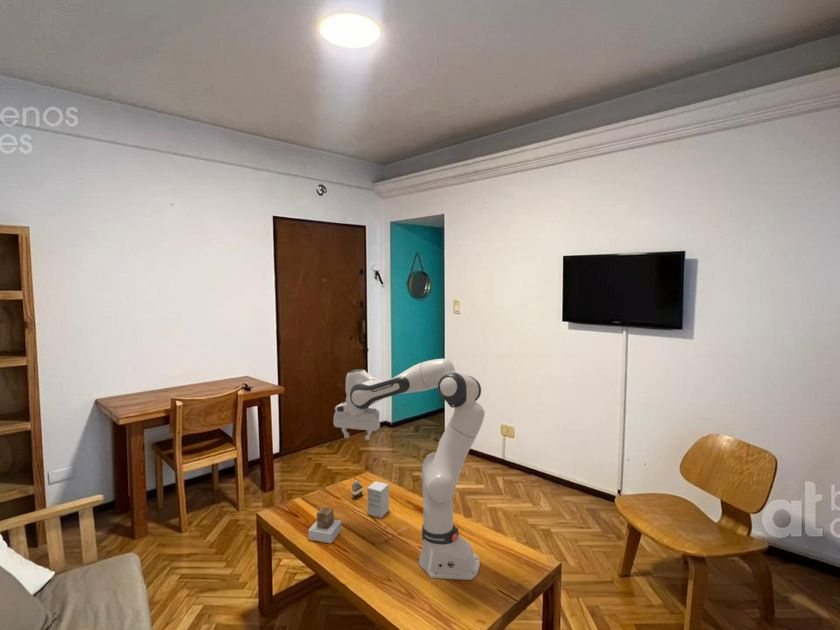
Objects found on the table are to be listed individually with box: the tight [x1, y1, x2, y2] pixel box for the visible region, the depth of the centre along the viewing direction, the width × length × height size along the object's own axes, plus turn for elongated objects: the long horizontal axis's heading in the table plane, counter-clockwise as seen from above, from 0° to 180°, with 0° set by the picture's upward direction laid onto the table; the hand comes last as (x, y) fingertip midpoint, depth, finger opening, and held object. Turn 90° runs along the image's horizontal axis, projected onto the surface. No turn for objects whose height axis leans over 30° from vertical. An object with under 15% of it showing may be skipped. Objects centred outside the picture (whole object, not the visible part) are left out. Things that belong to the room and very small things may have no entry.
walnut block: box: [316, 506, 335, 529], centre depth 185 cm, size 5×5×6 cm
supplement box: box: [366, 480, 390, 519], centre depth 203 cm, size 7×7×13 cm
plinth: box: [307, 519, 343, 544], centre depth 186 cm, size 10×10×4 cm
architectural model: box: [350, 479, 365, 499], centre depth 217 cm, size 3×7×7 cm, turn 149°
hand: (356, 438), depth 193 cm, fingers open, 8 cm apart
